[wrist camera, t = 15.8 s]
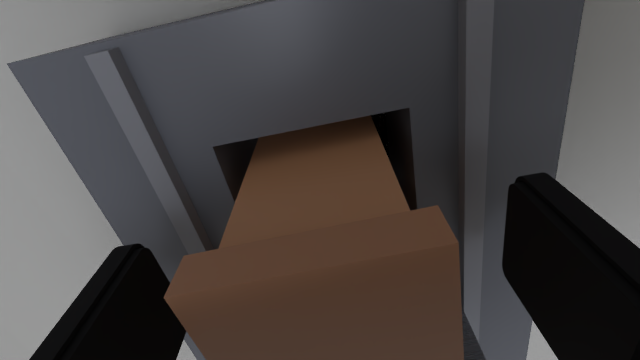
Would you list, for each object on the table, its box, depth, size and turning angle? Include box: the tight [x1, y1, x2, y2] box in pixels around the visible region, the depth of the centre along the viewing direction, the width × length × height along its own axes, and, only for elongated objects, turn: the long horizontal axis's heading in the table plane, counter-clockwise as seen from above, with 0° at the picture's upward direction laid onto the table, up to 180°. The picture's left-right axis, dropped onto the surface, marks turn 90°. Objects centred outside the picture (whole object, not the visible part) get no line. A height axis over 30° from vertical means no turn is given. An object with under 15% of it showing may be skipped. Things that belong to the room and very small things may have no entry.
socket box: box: [7, 0, 584, 360], centre depth 14 cm, size 14×18×6 cm
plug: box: [164, 115, 464, 360], centre depth 11 cm, size 5×5×10 cm
